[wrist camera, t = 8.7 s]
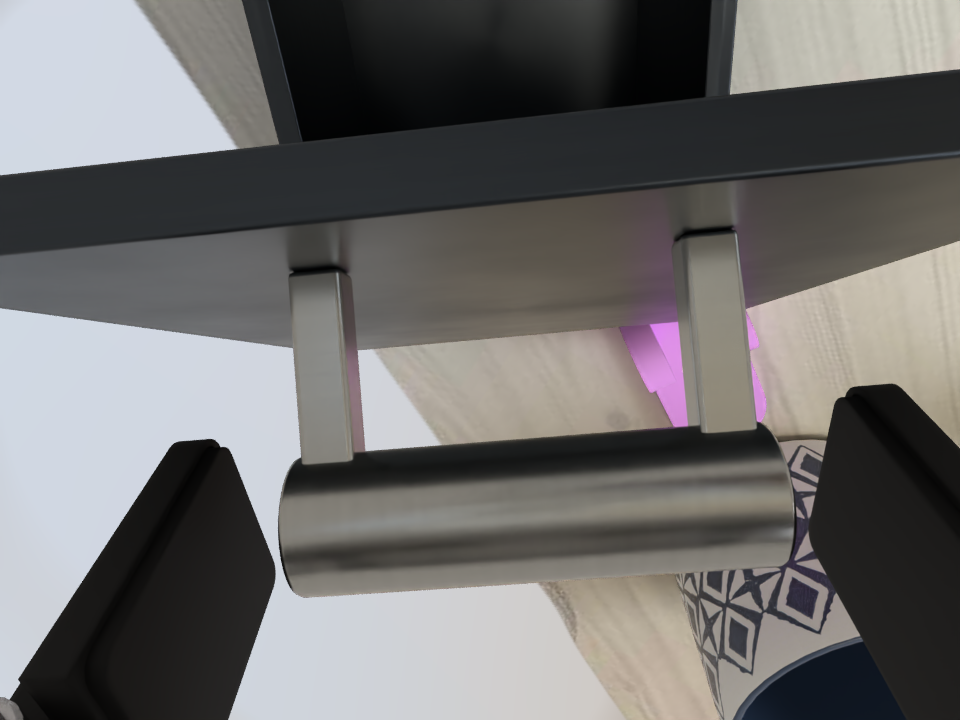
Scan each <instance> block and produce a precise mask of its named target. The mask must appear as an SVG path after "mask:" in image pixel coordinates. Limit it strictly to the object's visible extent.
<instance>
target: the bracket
mask: <svg viewBox="0 0 960 720" xmlns="http://www.w3.org/2000/svg"><path fill="white" fill-rule="evenodd" d="M746 318H747V328H748V338H749V348H750V350H753V349H755V348H757V347H759V341H758V338H757V335H756V332H755V330H754V327H753V325H752V323H751V320H750V318H749V316H748V314H747V312H746ZM619 328H620V331H621V333H622V336H623V338H624V341H625V343H626V345H627V348H628V350H629V352H630V354H631V356H632V359H633V361H634V363H635V365H636V367H637V369H638V371H639V373H640V375H641V377H642V379H643V381H644V383H645V385H646V387H647V388H648V390H649V392H650V393H652V392H654V391H656V393H657V395H658V397H659V399H660V401H661V403H662V405H663V406H664V408H665V410H666V412H667V414H668V416H669V418H670V420H671V422H672V424H673V426H674V427H681V426H688V420H687V410H686V399H685V389H684V378H683V372H682V357H681V347H680V336H679V326H678V322H670V323H658V324H647V325H636V326H625V327H619ZM751 368H752V378H753V388H754V399H755V409H756V419H757V421H758V422H762V420H763V418H764V415H765V412H766V397H765V394H764V392H763V389H762V387H761V384H760V382H759V379H758V377H757V374H756V372H755V370H754V367H753V365H752V362H751Z"/></svg>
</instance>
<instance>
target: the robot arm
mask: <svg viewBox="0 0 960 720" xmlns="http://www.w3.org/2000/svg"><path fill="white" fill-rule="evenodd" d="M808 532H809V540H810V543H811V547H812V549H813V551H814V553H815V555H816V557H817V558H818V560H819V562H820V564H821V566H822V567H823V569H824V571H825V573H826V575H827V577H828V578H829V580H830V582H831V584H832V586H833V587H834V589H835V591H836V593H837V595H838V596H839V598H840V600H841V602H842V604H843V605H844V607H845V609H846V611H847V613H848V614H849V616H850V618H851V620H852V622H853V624H854V625H855V627H856V629H857V631H858V633H859V634H860V636H861V638H862V640H863V642H864V643H865V645H866V647H867V649H868V651H869V652H870V654H871V656H872V658H873V660H874V662H875V663H876V665H877V667H878V669H879V671H880V672H881V674H882V676H883V678H884V680H885V681H886V683H887V685H888V687H889V689H890V690H891V692H892V694H893V696H894V698H895V699H896V701H897V703H898V705H899V707H900V709H901V710H902V712H903V714H904V716H905V718H906V719H907V720H960V448H959V447H958V446H957V445H956V444H955V443H954V442H953V441H952V440H951V439H950V438H949V437H948V436H947V435H946V434H945V433H944V432H943V431H942V430H941V429H940V428H939V426H938V425H937V424H936V423H935V422H934V421H933V420H932V419H931V418H930V417H929V416H928V415H927V414H926V413H925V412H924V411H923V410H922V409H921V408H920V407H919V406H918V405H917V404H916V403H915V402H914V401H913V400H912V399H911V398H910V397H909V396H908V395H907V394H906V392H905V391H904V390H903V389H902V388H900V387H899V386H898V385H895V384H882V385H869V386H857V387H852V388H850V389H849V390H848V392H847V393H846V396H845V397H841V398H838V399H837V401H836V402H835V405H834V409H833V413H832V418H831V423H830V427H829V432H828V437H827V442H826V446H825V451H824V456H823V460H822V465H821V470H820V474H819V479H818V484H817V489H816V493H815V498H814V503H813V507H812V512H811V517H810V521H809V528H808ZM274 583H275V565H274V561H273V558H272V556H271V553H270V551H269V548H268V545H267V543H266V540H265V538H264V535H263V533H262V530H261V528H260V525H259V523H258V520H257V517H256V515H255V512H254V510H253V507H252V505H251V502H250V500H249V497H248V495H247V492H246V489H245V487H244V484H243V482H242V480H241V477H240V474H239V472H238V469H237V467H236V464H235V462H234V459H233V457H232V454H231V452H230V451H229V449H228V448H226V447H220V446H219V444H218V443H217V442H216V441H215V440H213V439H206V440H193V441H180V442H176V443H174V444H173V445H172V446H171V447H170V448H169V450H168V452H167V453H166V455H165V456H164V458H163V459H162V461H161V462H160V464H159V465H158V467H157V468H156V470H155V471H154V473H153V474H152V476H151V477H150V479H149V480H148V482H147V484H146V485H145V487H144V488H143V490H142V491H141V493H140V494H139V496H138V497H137V499H136V500H135V502H134V503H133V505H132V506H131V508H130V510H129V511H128V513H127V514H126V516H125V517H124V519H123V520H122V522H121V523H120V525H119V527H118V528H117V529H116V531H115V532H114V534H113V535H112V537H111V538H110V540H109V542H108V543H107V545H106V546H105V548H104V549H103V551H102V552H101V554H100V555H99V557H98V558H97V560H96V561H95V563H94V564H93V566H92V568H91V569H90V571H89V572H88V574H87V575H86V577H85V578H84V580H83V581H82V583H81V584H80V586H79V588H78V589H77V590H76V592H75V593H74V595H73V597H72V598H71V600H70V601H69V603H68V604H67V606H66V607H65V609H64V610H63V612H62V613H61V615H60V616H59V618H58V619H57V621H56V622H55V624H54V626H53V627H52V629H51V630H50V632H49V633H48V635H47V636H46V638H45V639H44V641H43V642H42V644H41V645H40V647H39V648H38V650H37V651H36V653H35V655H34V656H33V658H32V659H31V661H30V662H29V664H28V665H27V667H26V668H25V670H24V671H23V673H22V674H21V676H20V677H19V679H18V680H19V681H20V685H19V686H18V688H17V689H16V691H15V692H14V694H13V696H12V697H11V698H10V700H8V699H6V698H4V697H0V720H228V718H229V715H230V713H231V710H232V706H233V704H234V701H235V698H236V695H237V692H238V689H239V686H240V683H241V680H242V678H243V675H244V672H245V669H246V665H247V663H248V660H249V657H250V654H251V651H252V648H253V645H254V643H255V640H256V637H257V634H258V631H259V628H260V625H261V622H262V619H263V616H264V613H265V610H266V608H267V604H268V602H269V599H270V596H271V593H272V590H273V587H274Z"/></svg>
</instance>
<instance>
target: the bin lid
mask: <svg viewBox="0 0 960 720" xmlns="http://www.w3.org/2000/svg"><path fill="white" fill-rule="evenodd" d="M957 241H960V69H958V70H949V71H940V72H931V73H922V74H913V75H904V76H895V77H886V78H876V79H867V80H858V81H849V82H840V83H831V84H822V85H813V86H804V87H795V88H786V89H777V90H768V91H759V92H750V93H741V94H732V95H723V96H714V97H705V98H696V99H687V100H678V101H669V102H660V103H651V104H641V105H632V106H623V107H614V108H605V109H596V110H587V111H578V112H569V113H560V114H551V115H542V116H533V117H524V118H515V119H506V120H497V121H488V122H479V123H470V124H461V125H452V126H443V127H434V128H425V129H416V130H406V131H397V132H388V133H379V134H370V135H361V136H352V137H343V138H334V139H325V140H316V141H307V142H298V143H289V144H280V145H271V146H262V147H253V148H244V149H235V150H226V151H217V152H208V153H199V154H190V155H181V156H172V157H162V158H153V159H145V160H137V161H136V160H135V161H127V162H118V163H108V164H100V165H90V166H82V167H73V168H64V169H54V170H45V171H36V172H27V173H18V174H9V175H0V308H3V309H11V310H18V311H26V312H32V313H40V314H48V315H54V316H62V317H69V318H77V319H84V320H91V321H98V322H107V323H113V324H121V325H128V326H135V327H142V328H150V329H157V330H164V331H172V332H180V333H187V334H194V335H201V336H209V337H216V338H223V339H230V340H238V341H245V342H253V343H260V344H268V345H274V346H282V347H289V348H293V352H294V365H295V379H296V393H297V406H298V419H299V433H300V447H301V458H299V459H297V460H296V461H294V462H293V464H292V465H291V467H290V468H289V470H288V472H287V475H286V477H285V480H284V484H283V488H282V492H281V498H280V505H279V516H278V538H279V550H280V557H281V562H282V566H283V571H284V574H285V577H286V580H287V582H288V584H289V586H290V588H291V589H292V591H293V592H294V593H295V594H296V595H299V596H301V597H304V598H309V597H325V596H339V595H356V594H371V593H385V592H386V593H387V592H402V591H417V590H433V589H449V588H464V587H479V586H496V585H511V584H526V583H542V582H558V581H573V580H589V579H604V578H620V577H635V576H651V575H666V574H682V573H698V572H713V571H729V570H744V569H760V568H775V567H781V566H783V565H784V564H786V563H787V562H788V561H789V560H790V558H791V556H792V554H793V551H794V547H795V543H796V534H797V511H796V501H795V493H794V488H793V483H792V478H791V474H790V471H789V467H788V464H787V461H786V458H785V455H784V453H783V451H782V448H781V446H780V444H779V442H778V440H777V438H776V437H775V435H774V434H773V432H772V431H771V430H770V429H769V428H768V427H767V426H766V425H765V424H763V423H761V422H758V421H757V419H756V409H755V399H754V388H753V378H752V368H751V358H750V348H749V338H748V328H747V318H746V309H747V308H750V307H753V306H756V305H760V304H763V303H766V302H769V301H772V300H775V299H778V298H782V297H785V296H788V295H791V294H794V293H797V292H800V291H803V290H807V289H810V288H813V287H816V286H819V285H822V284H825V283H829V282H832V281H835V280H838V279H841V278H844V277H847V276H851V275H854V274H857V273H860V272H863V271H866V270H869V269H872V268H876V267H879V266H882V265H885V264H888V263H891V262H894V261H898V260H901V259H904V258H907V257H910V256H913V255H916V254H919V253H923V252H926V251H929V250H932V249H935V248H938V247H941V246H945V245H948V244H951V243H954V242H957ZM670 322H678V326H679V336H680V347H681V357H682V368H683V378H684V389H685V399H686V410H687V420H688V426H681V427H668V428H655V429H643V430H630V431H617V432H604V433H592V434H579V435H566V436H554V437H541V438H528V439H516V440H503V441H490V442H477V443H465V444H452V445H439V446H428V447H414V448H402V449H389V450H376V451H365V442H364V430H363V429H364V428H363V416H362V403H361V390H360V378H359V364H358V351H357V350H366V349H377V348H389V347H400V346H411V345H422V344H434V343H445V342H456V341H467V340H479V339H490V338H501V337H512V336H524V335H535V334H546V333H557V332H568V331H580V330H591V329H602V328H613V327H625V326H636V325H647V324H658V323H670Z"/></svg>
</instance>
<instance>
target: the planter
mask: <svg viewBox="0 0 960 720" xmlns="http://www.w3.org/2000/svg"><path fill="white" fill-rule="evenodd" d="M826 442H827V441H823V440H792V441H786V442H780V443H779V444H780V446H781V448H782V451H783V453H784V455H785V458H786V461H787V464H788V467H789V471H790V474H791V478H792V483H793V488H794V493H795V501H796V511H797V534H796V543H795V547H794V551H793V554H792V556H791V558H790V560H789V561H788V562H787V563H786V564H784V565H783V566H781V567H775V568H760V569H744V570H729V571H713V572H698V573H682V574H675V577H676V580H677V583H678V586H679V590H680V593H681V596H682V599H683V603H684V606H685V609H686V612H687V616H688V619H689V622H690V626H691V629H692V632H693V635H694V639H695V642H696V645H697V648H698V651H699V655H700V658H701V661H702V664H703V668H704V671H705V674H706V677H707V681H708V684H709V687H710V690H711V693H712V697H713V700H714V703H715V706H716V710H717V713H718V716H719V719H720V720H907V719H906V718H905V716H904V714H903V712H902V710H901V709H900V707H899V705H898V703H897V701H896V699H895V698H894V696H893V694H892V692H891V690H890V689H889V687H888V685H887V683H886V681H885V680H884V678H883V676H882V674H881V672H880V671H879V669H878V667H877V665H876V663H875V662H874V660H873V658H872V656H871V654H870V652H869V651H868V649H867V647H866V645H865V643H864V642H863V640H862V638H861V636H860V634H859V633H858V631H857V629H856V627H855V625H854V624H853V622H852V620H851V618H850V616H849V614H848V613H847V611H846V609H845V607H844V605H843V604H842V602H841V600H840V598H839V596H838V595H837V593H836V591H835V589H834V587H833V586H832V584H831V582H830V580H829V578H828V577H827V575H826V573H825V571H824V569H823V567H822V566H821V564H820V562H819V560H818V558H817V557H816V555H815V553H814V551H813V549H812V547H811V543H810V540H809V532H808V528H809V521H810V517H811V512H812V507H813V503H814V498H815V493H816V489H817V484H818V479H819V474H820V470H821V465H822V460H823V456H824V451H825V446H826Z"/></svg>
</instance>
